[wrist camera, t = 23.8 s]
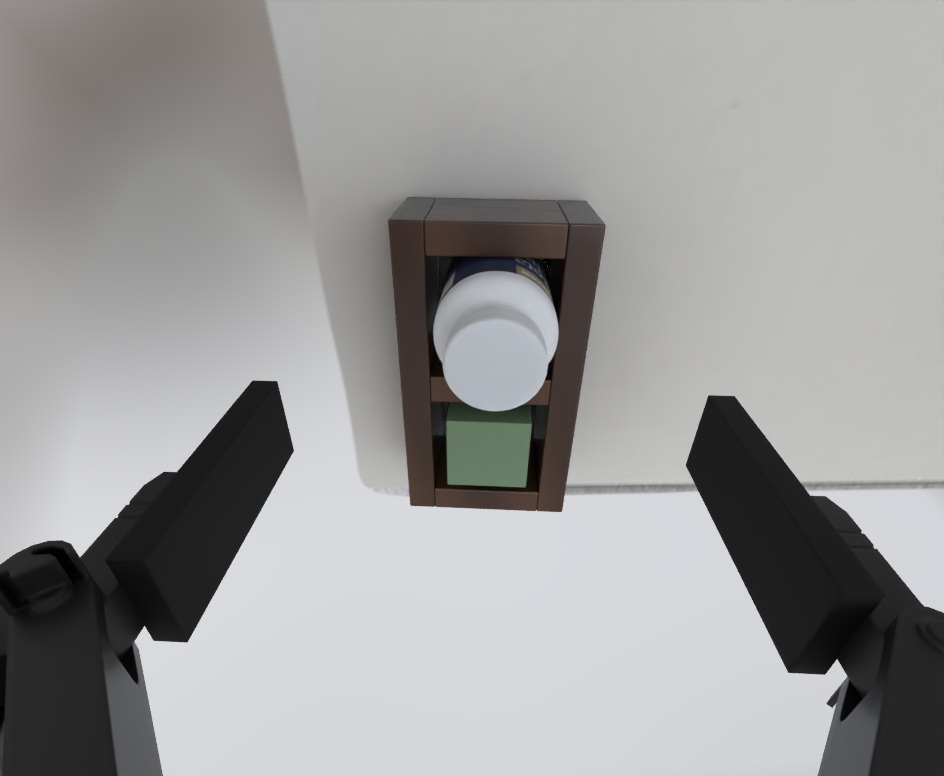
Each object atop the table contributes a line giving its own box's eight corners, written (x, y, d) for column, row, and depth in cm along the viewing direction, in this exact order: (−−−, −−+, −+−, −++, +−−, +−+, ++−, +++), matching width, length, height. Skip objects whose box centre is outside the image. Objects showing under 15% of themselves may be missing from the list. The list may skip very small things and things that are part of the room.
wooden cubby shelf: (421, 452, 33) (410, 506, 29) (407, 196, 24) (387, 219, 20) (553, 457, 33) (561, 512, 28) (586, 200, 24) (606, 224, 20)
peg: (454, 426, 32) (447, 484, 27) (454, 368, 29) (445, 421, 25) (521, 428, 31) (525, 488, 27) (526, 370, 29) (532, 423, 24)
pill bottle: (560, 247, 25) (591, 324, 17) (527, 337, 28) (540, 440, 20) (461, 218, 25) (441, 283, 16) (437, 312, 27) (411, 408, 19)
